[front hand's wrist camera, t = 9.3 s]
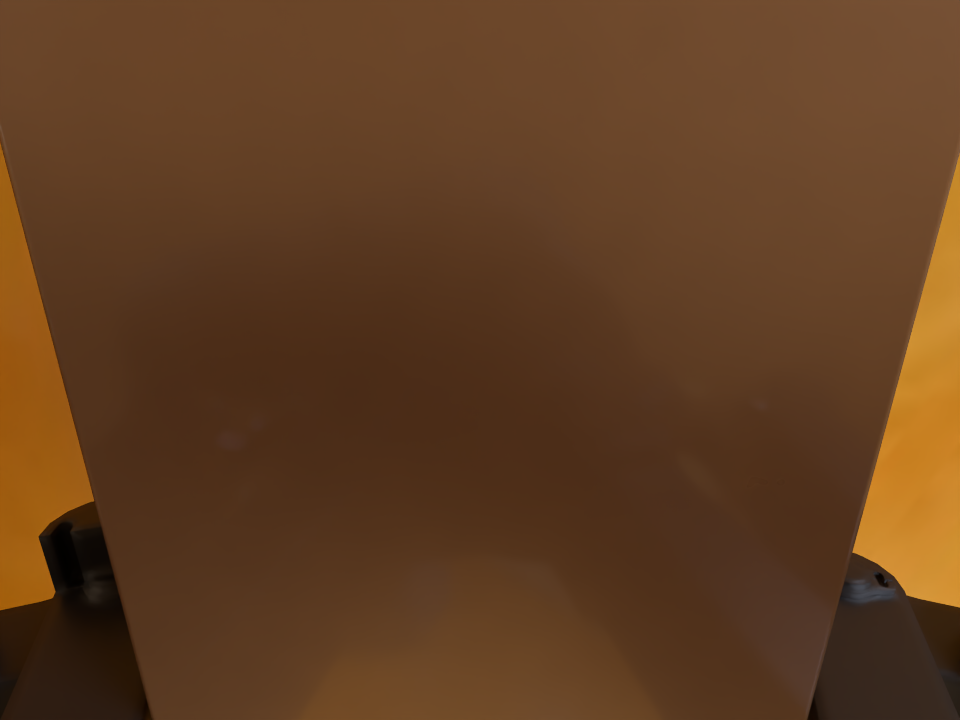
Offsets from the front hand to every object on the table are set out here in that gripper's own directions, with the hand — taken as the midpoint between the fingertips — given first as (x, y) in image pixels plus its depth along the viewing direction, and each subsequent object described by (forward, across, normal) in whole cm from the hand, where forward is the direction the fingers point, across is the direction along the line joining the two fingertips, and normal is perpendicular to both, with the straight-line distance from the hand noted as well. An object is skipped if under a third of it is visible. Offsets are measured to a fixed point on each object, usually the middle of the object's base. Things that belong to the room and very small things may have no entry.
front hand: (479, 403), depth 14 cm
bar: (+1, 0, -8) cm, 9 cm away
